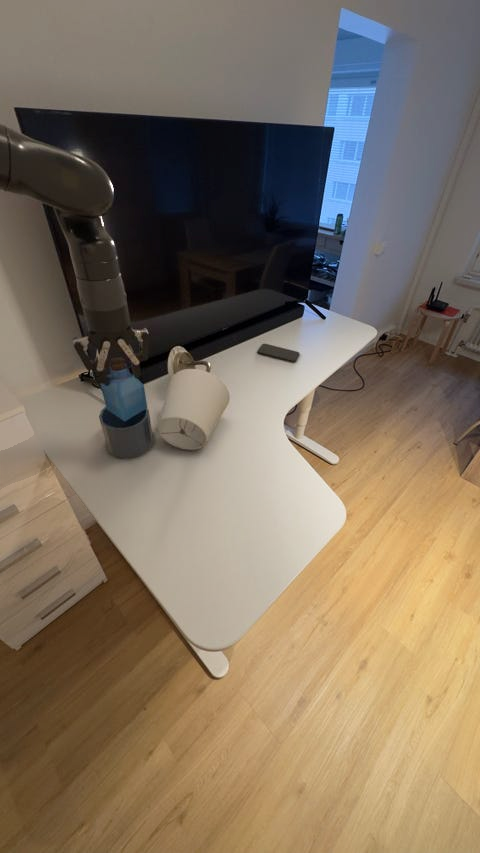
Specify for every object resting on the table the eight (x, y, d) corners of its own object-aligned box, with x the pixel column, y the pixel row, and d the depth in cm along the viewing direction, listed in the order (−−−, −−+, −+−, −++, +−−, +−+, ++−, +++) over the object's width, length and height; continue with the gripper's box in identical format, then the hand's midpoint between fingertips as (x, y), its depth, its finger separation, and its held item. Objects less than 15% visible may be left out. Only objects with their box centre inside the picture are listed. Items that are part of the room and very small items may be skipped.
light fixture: (249, 370, 109) (224, 454, 88) (197, 375, 116) (161, 455, 94) (234, 325, 98) (201, 408, 76) (176, 333, 104) (131, 412, 83)
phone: (295, 361, 125) (256, 351, 128) (294, 363, 125) (256, 353, 129) (300, 352, 130) (263, 342, 134) (299, 354, 131) (262, 344, 134)
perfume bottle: (124, 421, 73) (114, 373, 65) (106, 409, 75) (94, 361, 67) (147, 407, 77) (140, 361, 69) (129, 396, 79) (120, 350, 71)
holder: (111, 463, 85) (103, 434, 78) (104, 434, 92) (95, 405, 86) (158, 451, 89) (153, 422, 82) (147, 423, 97) (142, 395, 90)
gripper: (140, 288, 65) (151, 365, 76) (57, 296, 60) (82, 377, 71) (150, 303, 60) (160, 383, 71) (60, 314, 55) (86, 398, 66)
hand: (121, 380), depth 71 cm, fingers closed on perfume bottle, 5 cm apart
